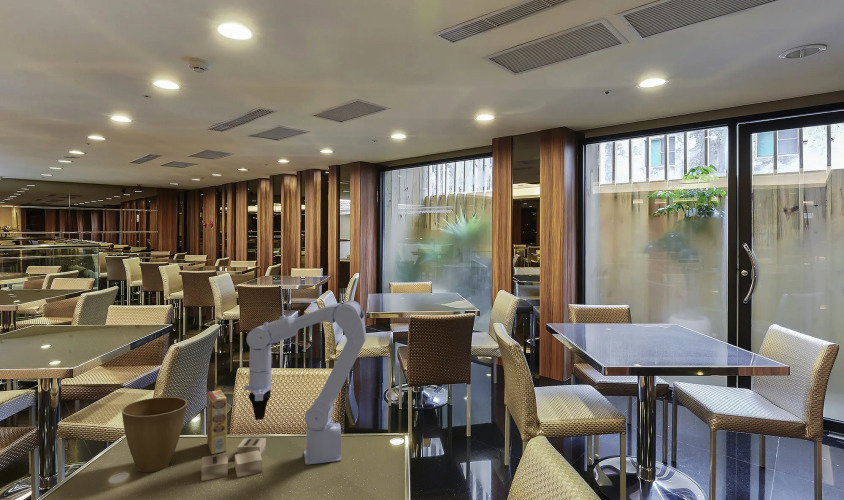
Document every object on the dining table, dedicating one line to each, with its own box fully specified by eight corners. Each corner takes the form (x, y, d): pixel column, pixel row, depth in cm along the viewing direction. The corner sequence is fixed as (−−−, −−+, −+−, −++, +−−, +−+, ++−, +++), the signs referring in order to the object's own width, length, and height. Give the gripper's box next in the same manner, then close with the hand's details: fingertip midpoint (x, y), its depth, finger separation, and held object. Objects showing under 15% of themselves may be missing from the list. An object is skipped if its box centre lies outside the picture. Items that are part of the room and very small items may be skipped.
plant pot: (114, 484, 113) (115, 418, 113) (127, 458, 127) (128, 399, 127) (183, 474, 119) (184, 411, 119) (188, 450, 133) (189, 393, 132)
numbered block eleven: (265, 450, 134) (265, 437, 134) (259, 459, 128) (259, 446, 128) (244, 450, 134) (244, 437, 134) (237, 459, 128) (237, 446, 128)
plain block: (258, 463, 126) (258, 450, 126) (262, 473, 121) (262, 459, 121) (234, 467, 123) (234, 454, 123) (237, 478, 118) (237, 464, 118)
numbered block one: (227, 466, 124) (227, 452, 124) (227, 476, 118) (227, 462, 118) (201, 470, 121) (202, 456, 121) (201, 481, 116) (201, 466, 116)
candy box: (227, 451, 132) (228, 397, 132) (211, 455, 130) (211, 400, 130) (221, 440, 140) (221, 389, 139) (205, 443, 137) (206, 391, 137)
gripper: (246, 364, 135) (246, 411, 135) (242, 377, 121) (242, 430, 121) (272, 362, 137) (271, 408, 137) (271, 376, 123) (270, 427, 123)
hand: (259, 418), depth 129 cm, fingers closed
